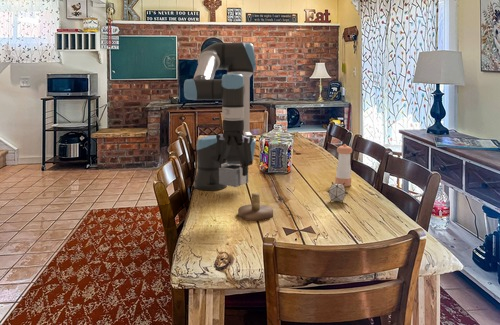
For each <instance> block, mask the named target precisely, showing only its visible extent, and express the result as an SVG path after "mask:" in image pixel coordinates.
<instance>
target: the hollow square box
mask: <svg viewBox="0 0 500 325" xmlns="http://www.w3.org/2000/svg"><path fill="white" fill-rule="evenodd" d="M241 166H242V165H241V164H228V165H226V166H222V167H219V184H222V185H227V186H229V187H234V188H238V187H240V186H241V185H240V167H241ZM248 183H249V173H248V174H247V175H246V184H248Z"/></svg>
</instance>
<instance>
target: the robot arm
mask: <svg viewBox="0 0 500 325" xmlns="http://www.w3.org/2000/svg"><path fill="white" fill-rule="evenodd" d="M254 46H255V45H253V44H252V43H251V42H217V43H213V44H210V45H209V46H207V47H205V48H204V49H203V50H202V51H201V52H200V53H199V55H198V58H197V64H198V65H197V67H196V70H195V73H194V75H193V78H190V79H188V78H187V79H185V80H184V83H183V94H184V95H183V96H184V98H185V100H189V101H191V100H192V101H204V100H205V101H222V108H221V109H222V112H221V115H222V124H221V125H222V130H223V133H219V134H216V135H215V134H214V135H207V136H202V137H200V138H198V139H197V142H196V160H197V162H196V163H197V164H196V166H197V167H196V168H197V169H196V174H195V177H194V181H193V187H194V189H196V190H200V191H217V190H223V189H225V188H226V187H227V186H228V185H222V184H219V167H222V166H226V165H229V164H236V165H242V166H241V167H240V186H244V185H246V184H247V183H246V175H247V174H248V175H249V166H251V165H253V163H254V159H255V158H254V157H255V149H256V143H257V142H256V141H257V139H255V138H253V137H254V135H253V134H252V133H251V131H250V130H251V129H250V124H251V123H250V117H251V116H250V112H251V111H250V109H251V108H250V102H251V101H250V96H251V95H250V82H251V81H250V79H251V77H252V75H253V74H254V71H255V70H257V64H256V55H255V47H254ZM218 70H223V71H224V70H226V73H225V74H223V75H221V76H222V77H221V79H219V78H218V79H216V78H215V75H216V71H218Z"/></svg>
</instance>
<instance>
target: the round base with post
mask: <svg viewBox="0 0 500 325" xmlns="http://www.w3.org/2000/svg"><path fill="white" fill-rule="evenodd" d="M260 197H261V195H260V192H253V193H251V204H246V205H242V206H240V207H238V209H237V210H238V211H237V216H238V217H239V218H241V219H242V220H244V221H253V222H255V221H256V222H257V221H258V222H259V221H267V220H270V219H272V218H273V216H274V208H273V207H272V206H269V205H265V204H261V203H260V202H261V201H260V200H261V198H260Z"/></svg>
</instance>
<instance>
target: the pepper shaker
mask: <svg viewBox="0 0 500 325" xmlns="http://www.w3.org/2000/svg"><path fill="white" fill-rule="evenodd" d="M336 152H337V153H338V155H337V156H338V158H337V160H338V161H337V166H336V174H335V178H334V179H335V180H334V181H335V182H334V184H343V183H345V184H344V187H350V185H352V177H351V176H352V167H351V155H352V153H353V147H351V146H348V145H347V144H346V143H343V145H340V146H338V147H337V148H336Z"/></svg>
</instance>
